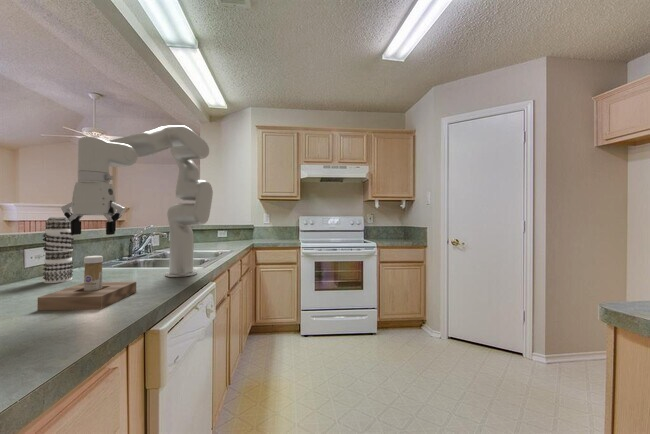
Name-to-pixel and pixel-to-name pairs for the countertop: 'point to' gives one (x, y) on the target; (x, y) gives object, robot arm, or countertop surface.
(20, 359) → the countertop surface
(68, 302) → the walnut hole board
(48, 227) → the decorative candle
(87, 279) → the sprinkles bottle
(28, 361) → the countertop surface
